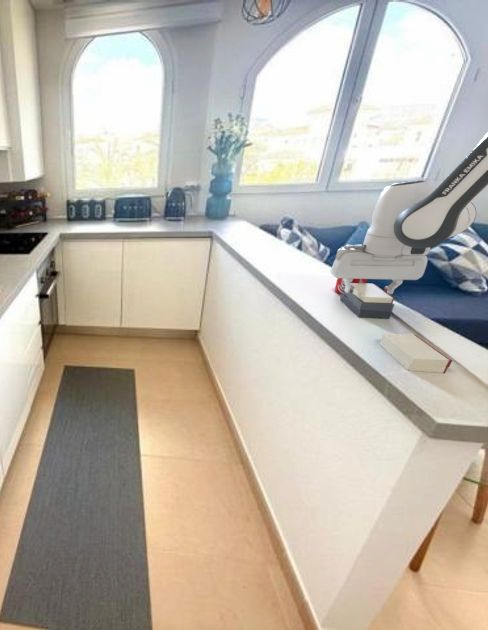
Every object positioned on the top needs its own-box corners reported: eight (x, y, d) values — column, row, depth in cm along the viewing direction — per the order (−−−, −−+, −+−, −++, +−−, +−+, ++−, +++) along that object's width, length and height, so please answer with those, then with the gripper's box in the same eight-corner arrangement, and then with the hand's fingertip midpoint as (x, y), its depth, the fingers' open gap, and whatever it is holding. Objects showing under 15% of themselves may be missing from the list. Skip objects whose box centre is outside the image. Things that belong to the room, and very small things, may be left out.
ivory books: (413, 346, 82) (418, 334, 80) (446, 374, 72) (452, 361, 71) (377, 344, 84) (381, 332, 82) (405, 371, 74) (410, 358, 72)
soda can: (363, 300, 105) (376, 263, 100) (335, 298, 108) (346, 261, 103) (357, 292, 111) (369, 256, 105) (331, 289, 113) (341, 254, 108)
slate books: (369, 301, 104) (373, 287, 102) (392, 319, 94) (398, 304, 92) (338, 300, 106) (342, 286, 105) (357, 317, 96) (362, 303, 94)
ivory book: (371, 288, 102) (373, 283, 101) (392, 303, 93) (394, 297, 92) (345, 287, 104) (347, 282, 103) (363, 302, 94) (365, 297, 94)
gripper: (344, 247, 92) (330, 295, 98) (438, 248, 86) (417, 298, 93) (334, 242, 97) (321, 287, 103) (422, 242, 92) (403, 289, 98)
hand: (367, 292), depth 98 cm, fingers open, 8 cm apart
